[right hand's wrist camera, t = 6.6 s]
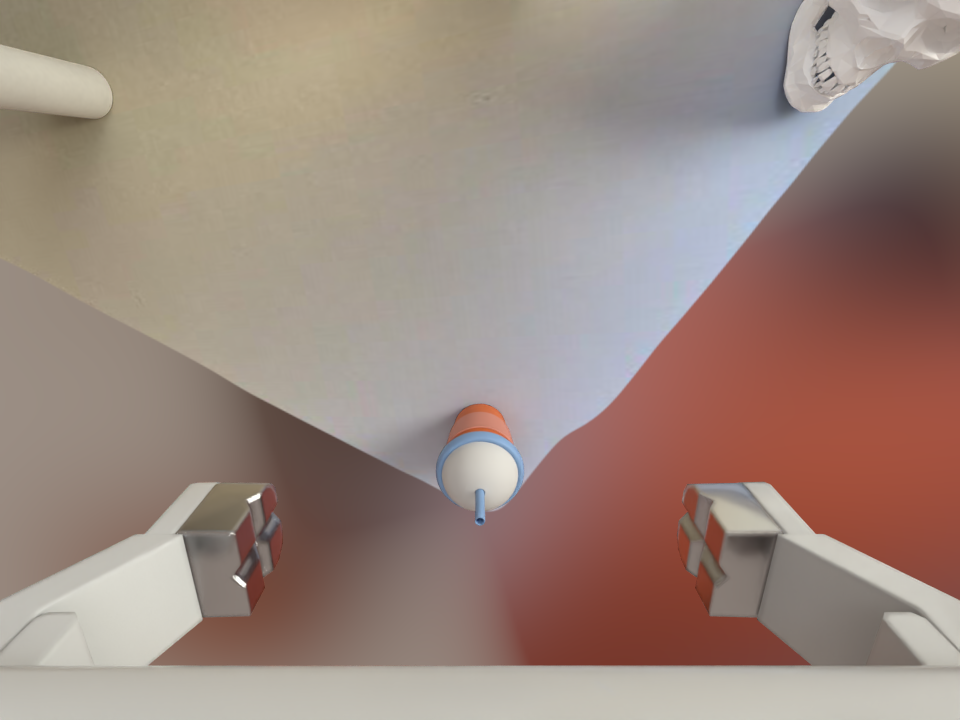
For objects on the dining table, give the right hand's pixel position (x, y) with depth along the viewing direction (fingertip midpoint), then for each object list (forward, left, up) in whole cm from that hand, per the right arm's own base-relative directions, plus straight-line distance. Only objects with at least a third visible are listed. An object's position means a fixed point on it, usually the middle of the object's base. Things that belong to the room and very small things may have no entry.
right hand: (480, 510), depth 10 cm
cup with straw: (+23, 0, -48) cm, 53 cm away
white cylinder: (-13, -38, -48) cm, 63 cm away
